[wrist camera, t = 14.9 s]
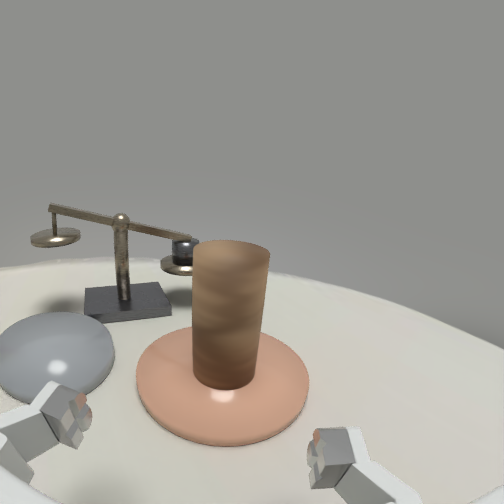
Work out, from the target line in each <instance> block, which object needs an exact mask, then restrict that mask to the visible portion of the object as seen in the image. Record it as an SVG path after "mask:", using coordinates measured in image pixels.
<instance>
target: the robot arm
mask: <svg viewBox="0 0 504 504" xmlns="http://www.w3.org/2000/svg"><path fill="white" fill-rule="evenodd" d="M86 401H87V399H86V396H85V394H84V393H81V392H78V391H76V390H73V389H71V388H68V387H66V386H63V385H61V384H59V383H56V382H54V381H50V382H48V383H47V384H46V385H45V387H44V388H43V389H42V390H41V391H40V393H39V394H38V395H37V396H36V398H35V399H34V400H33V401H32V403H31V404H30V405H27V404H26V405H23V406H21V407H18V408H15V409H13V410H10V411H7V412H4V413H1V414H0V504H62V503H61V502H59V501H57V500H55V499H53V498H51V497H49V496H48V495H46V494H44V493H42V492H41V491H39V490H37V489H35V488H34V487H32V486H31V485H29V483H30V481H31V479H32V477H33V476H34V471H33V470H32V468H31V467H30V466H29V465H28V464H27V462H28V461H30V460H32V459H34V458H35V457H37V456H39V455H41V454H42V453H44V452H46V451H47V450H49V449H51V448H52V447H54V446H56V445H57V444H59V442H60V443H62V444H65V445H67V446H69V447H72V448H74V449H78V447H79V445H80V443H81V442H82V440H83V438H84V437H83V433H82V432H84V431H86V430H88V429H89V427H90V425H91V422H92V411H91V409H90V407H89V406H88V405H87V404H86ZM313 438H314V439H313V440H312V441H310V443H309V445H308V449H307V464H308V466H309V467H311V468H312V469H311V471H310V473H309V480H310V488H311V489H325V488H334V489H335V491H336V492H337V493H338V494H339V495H340V496H341V497H342V498H343V499H344V500H345V501H346V502H347V504H423V502H422V500H421V497H420V494H419V493H418V492H417V491H415V490H414V489H412V488H411V487H409V486H408V485H407V484H405V483H404V482H403V481H401V480H400V479H398V478H397V477H396V476H394V475H393V474H392V473H390V472H389V471H388V470H386V469H385V468H384V467H383V466H381V465H380V464H379V463H377V462H376V461H371V459H370V456H369V453H368V450H367V447H366V444H365V441H364V438H363V434H362V431H361V428H360V427H359V426H352V427H335V428H317V429H316V430H315V431H314V433H313ZM468 504H504V485H502V486H499V487H497V488H495V489H493V490H492V491H490V492H488V493H487V494H485V495H483V496H481V497H480V498H478V499H476V500H474V501H472V502H470V503H468Z"/></svg>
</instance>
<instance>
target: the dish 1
mask: <svg viewBox="0 0 504 504" xmlns="http://www.w3.org/2000/svg"><path fill="white" fill-rule="evenodd" d="M114 357H115V356H114V347H113V342H112V338H111V335H110V333H109V331H108V329H107V328H106V327H105V326H104V325H103V324H102V323H100V322H99V321H98V320H96V319H94V318H92V317H89V316H87V315H83V314H79V313H73V312H48V313H42V314H37V315H34V316H30V317H28V318H25V319H22V320H20V321H18V322H16V323H15V324H13V325H11V326H10V327H9V328H7V329H6V330H5V331H4V332H3V333H2V334H1V335H0V385H1V387H2V388H3V389H4V390H5V391H6V392H7V393H8V394H9V395H11V396H12V397H14V398H15V399H18V400H20V401H22V402H25V403H28V404H31V403H32V401H33V400H34V399H35V398H36V396H37V395H38V394H39V393H40V391H41V390H42V389H43V388H44V387H45V385H46V384H47V383H48V382H50V381H54V382H56V383H59V384H61V385H63V386H66V387H68V388H71V389H73V390H76V391H78V392H81V393H84V394H85V395H86V394H88V393H89V392H91V391H92V390H94V389H95V388H96V387H98V386H99V385H100V384H101V383H102V382H103V381H104V380H105V378H106V377H107V376H108V374H109V372H110V371H111V369H112V366H113V363H114Z"/></svg>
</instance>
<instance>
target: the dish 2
mask: <svg viewBox="0 0 504 504" xmlns="http://www.w3.org/2000/svg"><path fill="white" fill-rule="evenodd" d="M136 380H137V386H138V391H139V395H140V398H141V401H142V403H143V405H144V407H145V408H146V410H147V411H148V413H149V414H150V415H151V416H152V417H153V418H154V420H156V421H157V422H158V423H159V424H160V425H161V426H163V427H164V428H166V429H167V430H169V431H170V432H172V433H174V434H176V435H178V436H180V437H182V438H184V439H187V440H190V441H193V442H196V443H201V444H206V445H211V446H225V447H226V446H241V445H247V444H253V443H256V442H260V441H263V440H266V439H268V438H270V437H272V436H274V435H276V434H278V433H280V432H281V431H283V430H284V429H286V428H287V427H288V426H289V425H290V424H291V423H293V421H294V420H295V419H296V418H297V417H298V415H299V414H300V412H301V410H302V408H303V406H304V403H305V399H306V396H307V393H308V389H309V376H308V372H307V369H306V367H305V365H304V363H303V361H302V360H301V359H300V357H299V356H298V355H297V354H296V353H295V352H294V351H293V350H292V349H291V348H290V347H288V346H287V345H286V344H284V343H283V342H281V341H279V340H277V339H276V338H274V337H272V336H269V335H267V334H264V333H262V332H260V338H259V346H258V353H257V361H256V368H255V375H254V378H253V379H252V381H251V382H250V383H249V384H248V385H246V386H244V387H242V388H239V389H235V390H216V389H212V388H210V387H207V386H205V385H203V384H202V383H200V382H199V381H198V380H197V379H196V377H195V376H194V373H193V357H192V327H188V328H183V329H180V330H176V331H174V332H171V333H168V334H166V335H164V336H162V337H161V338H159V339H157V340H156V341H154V342H153V343H152V344H151V345H150V346H149V347H148V348H147V349H146V350H145V351H144V352H143V354H142V355H141V357H140V359H139V361H138V364H137V369H136Z"/></svg>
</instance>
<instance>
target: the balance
mask: <svg viewBox="0 0 504 504" xmlns="http://www.w3.org/2000/svg"><path fill="white" fill-rule="evenodd" d="M48 212H52V227H53V229H47V230H43V231H40V232H37V233H35V234H33V235H32V236H31V244H32V245H33V246H35V247H41V248H50V247H59V246H65V245H69V244H72V243H74V242H76V241H78V240H79V239H80V231H79V230H78V229H74V228H57V225H56V214H61V215H65V216H70V217H74V218H79V219H83V220H87V221H92V222H96V223H101V224H106V225H110V226H112V229H113V230H114V249H115V268H116V281H117V286H105V287H93V288H85V307H84V315H87V316H89V317H92V318H94V319H96V320H98V321H99V322H100V323H109V322H119V321H128V320H137V319H145V318H153V317H161V316H169V315H172V312H171V304H170V303H169V301H168V299H167V297H166V295H165V294H164V292H163V290H162V288H161V286H160V284H159V282H150V283H139V284H130V278H129V259H128V230H132V231H137V232H141V233H146V234H150V235H155V236H160V237H164V238H168V239H173V240H172V255H170V256H167V257H165V258H163V259H162V260H161V269H162V270H163V271H165V272H167V273H169V274H173V275H179V276H193V248H194V246H195V245H197V244H199V240H197V239H194V238H192V236H191V235H189V234H184V233H180V232H176V231H171V230H167V229H162V228H158V227H154V226H150V225H145V224H141V223H137V222H133V221H130V219H129V217H128V216H127V215H126V214H123V213H118V214H116V215H115V216H114V217H111V216H107V215H102V214H98V213H94V212H89V211H85V210H80V209H76V208H71V207H67V206H63V205H59V204H54V203H50V205H49V209H48Z"/></svg>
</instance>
